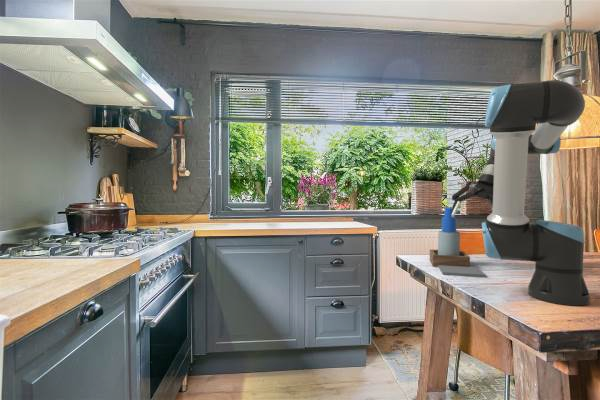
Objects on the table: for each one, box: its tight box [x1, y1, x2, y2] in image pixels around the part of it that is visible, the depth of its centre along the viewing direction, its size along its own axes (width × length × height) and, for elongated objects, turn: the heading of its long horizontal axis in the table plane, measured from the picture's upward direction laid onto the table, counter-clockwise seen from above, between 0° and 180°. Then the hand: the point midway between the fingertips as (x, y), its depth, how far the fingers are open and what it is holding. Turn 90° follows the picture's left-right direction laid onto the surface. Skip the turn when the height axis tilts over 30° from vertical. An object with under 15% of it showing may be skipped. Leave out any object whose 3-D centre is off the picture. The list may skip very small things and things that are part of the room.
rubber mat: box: [438, 265, 487, 278], centre depth 138 cm, size 13×15×1 cm
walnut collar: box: [429, 249, 471, 268], centre depth 153 cm, size 14×14×5 cm
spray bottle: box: [437, 207, 461, 256], centre depth 153 cm, size 9×9×25 cm
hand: (469, 222), depth 138 cm, fingers open, 13 cm apart
